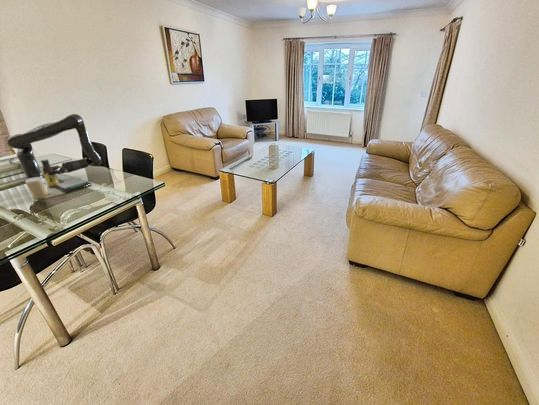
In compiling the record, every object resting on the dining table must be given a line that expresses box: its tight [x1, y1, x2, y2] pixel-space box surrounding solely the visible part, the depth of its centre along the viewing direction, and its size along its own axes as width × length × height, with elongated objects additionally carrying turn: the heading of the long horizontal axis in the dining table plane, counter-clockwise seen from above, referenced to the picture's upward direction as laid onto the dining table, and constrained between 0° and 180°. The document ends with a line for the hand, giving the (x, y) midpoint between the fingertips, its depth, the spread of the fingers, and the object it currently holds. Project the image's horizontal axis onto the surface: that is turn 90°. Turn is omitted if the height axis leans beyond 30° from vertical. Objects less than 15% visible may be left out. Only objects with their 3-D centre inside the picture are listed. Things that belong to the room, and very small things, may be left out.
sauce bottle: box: [40, 159, 60, 189], centre depth 178 cm, size 7×6×20 cm
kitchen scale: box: [54, 177, 92, 194], centre depth 181 cm, size 16×16×3 cm
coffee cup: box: [24, 176, 50, 199], centre depth 166 cm, size 9×9×12 cm
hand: (46, 172), depth 176 cm, fingers open, 8 cm apart
